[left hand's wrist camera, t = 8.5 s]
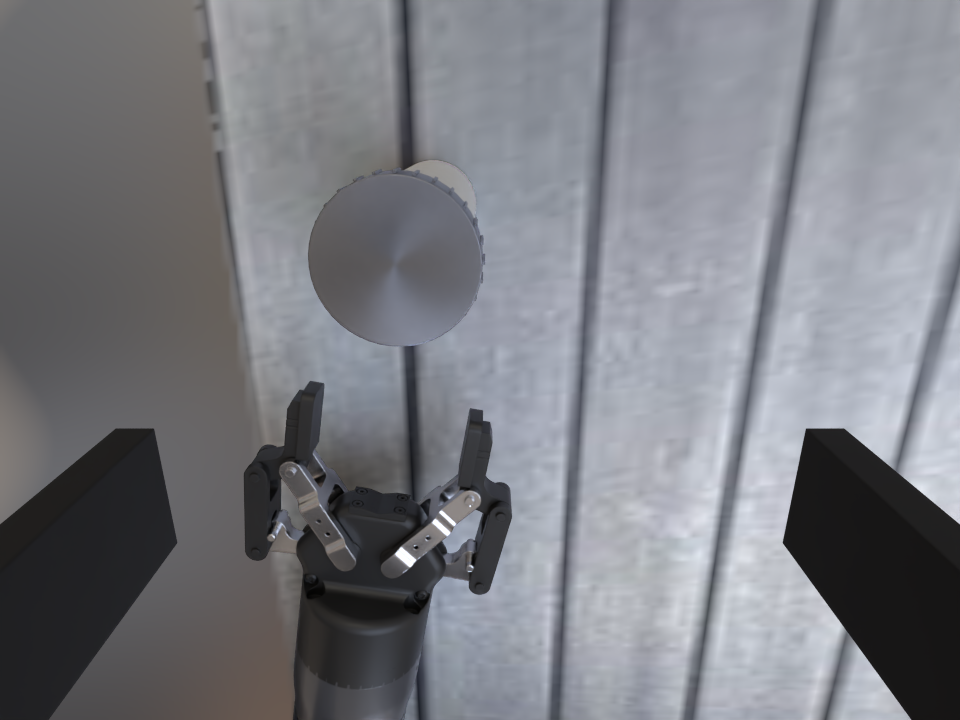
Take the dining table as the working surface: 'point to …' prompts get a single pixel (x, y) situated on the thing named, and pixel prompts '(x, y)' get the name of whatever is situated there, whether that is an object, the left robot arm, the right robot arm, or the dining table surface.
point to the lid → (396, 257)
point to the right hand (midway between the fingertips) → (394, 401)
